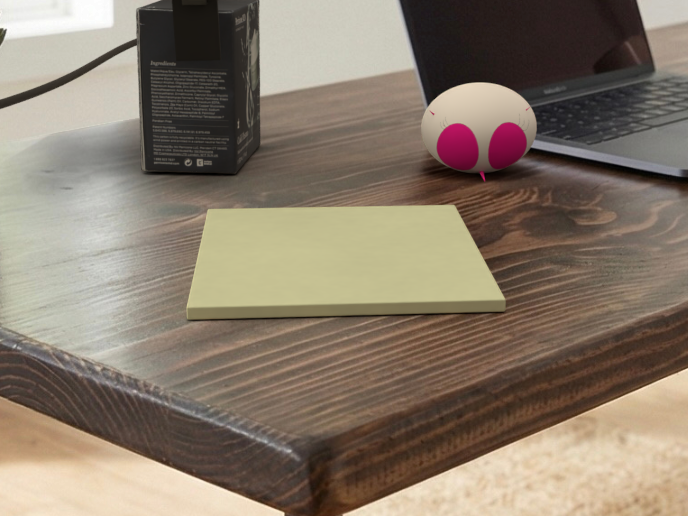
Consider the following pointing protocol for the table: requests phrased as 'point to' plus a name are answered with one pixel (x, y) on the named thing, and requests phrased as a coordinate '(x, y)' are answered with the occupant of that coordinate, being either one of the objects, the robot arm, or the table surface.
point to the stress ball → (478, 128)
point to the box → (198, 93)
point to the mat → (339, 263)
